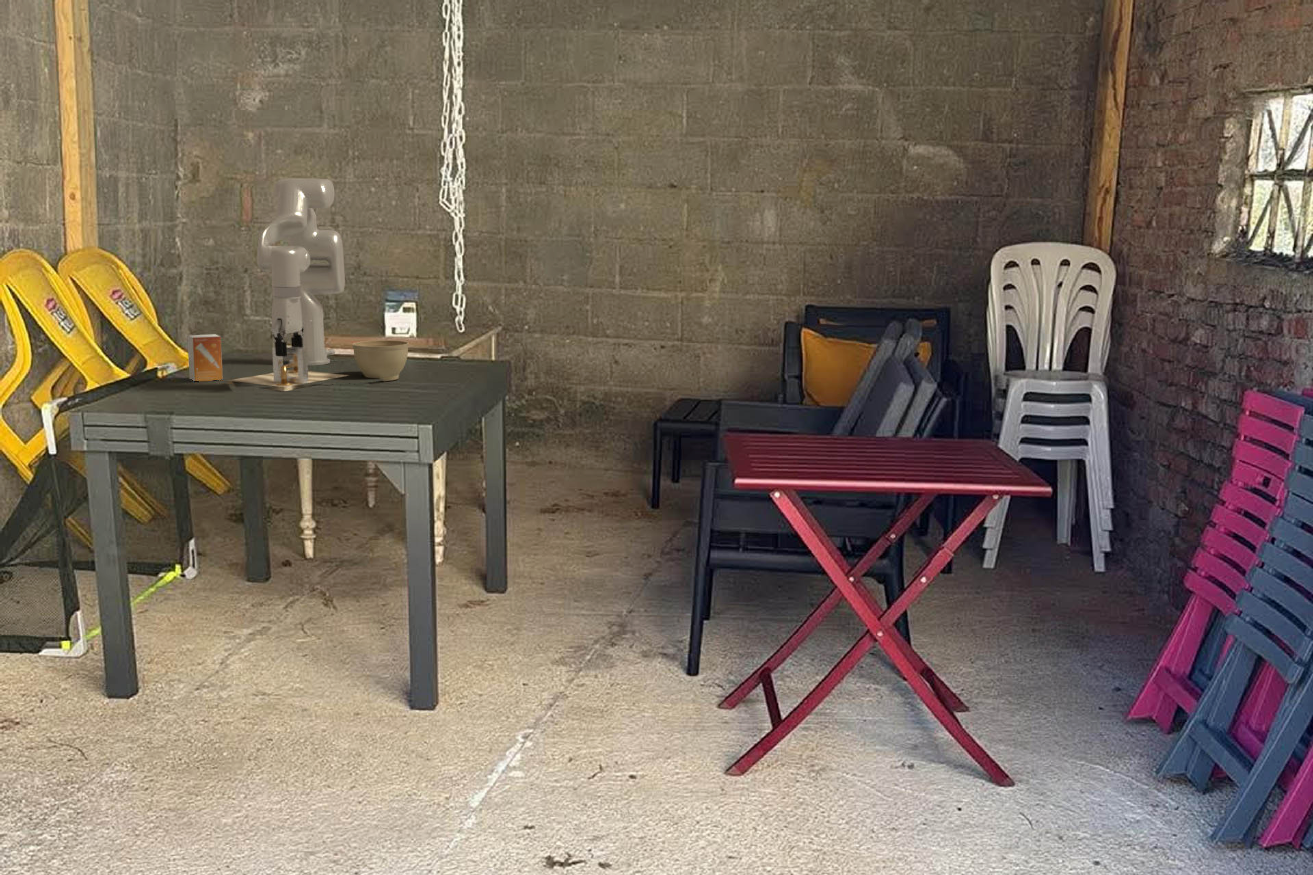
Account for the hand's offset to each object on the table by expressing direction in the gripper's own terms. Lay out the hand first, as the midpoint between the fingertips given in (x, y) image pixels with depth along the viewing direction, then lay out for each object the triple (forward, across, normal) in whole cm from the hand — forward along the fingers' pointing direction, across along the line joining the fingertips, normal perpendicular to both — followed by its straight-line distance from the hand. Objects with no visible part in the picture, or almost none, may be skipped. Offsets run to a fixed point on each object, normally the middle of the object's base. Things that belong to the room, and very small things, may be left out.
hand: (289, 353), depth 361 cm
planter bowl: (+10, -19, +19) cm, 29 cm away
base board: (+9, -8, -4) cm, 13 cm away
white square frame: (+8, 0, 0) cm, 8 cm away
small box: (+10, -6, -29) cm, 31 cm away
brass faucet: (+8, -8, -4) cm, 12 cm away
